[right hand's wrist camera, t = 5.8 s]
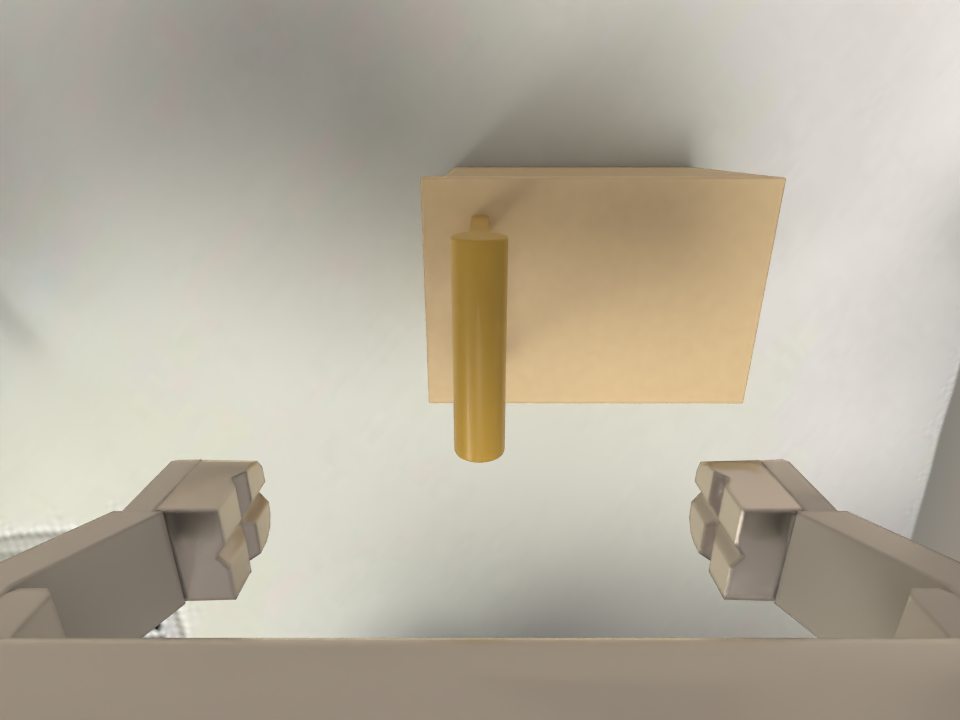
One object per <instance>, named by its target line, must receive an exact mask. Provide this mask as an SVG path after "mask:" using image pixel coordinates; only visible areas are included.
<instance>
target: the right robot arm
mask: <svg viewBox="0 0 960 720" xmlns="http://www.w3.org/2000/svg"><path fill="white" fill-rule="evenodd" d="M264 483H265V478H264V473H263V468H262V466H261V464H260V463H259V462H258V461H234V460H176V461H171V462H170V463H169V464H168V465H167V466H166V467H165V468H164V469H163V470H162V471H161V472H160V473H159V474H158V475H157V476H156V477H155V478H154V479H153V480H152V481H151V482H150V484H149V485H148V486H147V487H146V488H145V489H144V490H143V491H142V492H141V493H140V494H139V495H138V496H137V497H136V498H135V499H134V500H133V501H132V502H131V503H130V504H129V505H128V506H127V507H126V508H125V509H124V510H123V511H113V512H110V513H108V514H106V515H104V516H102V517H99V518H97V519H95V520H93V521H90V522H88V523H86V524H84V525H82V526H79V527H77V528H75V529H73V530H70V531H68V532H66V533H64V534H62V535H59V536H57V537H55V538H53V539H50V540H48V541H46V542H44V543H42V544H39V545H37V546H35V547H33V548H31V549H28V550H26V551H24V552H22V553H19V554H17V555H15V556H13V557H11V558H8V559H6V560H4V561H2V562H0V720H960V562H958V561H956V560H954V559H951V558H949V557H947V556H945V555H943V554H940V553H938V552H936V551H934V550H931V549H929V548H927V547H925V546H923V545H920V544H918V543H916V542H914V541H912V540H909V539H907V538H905V537H903V536H900V535H898V534H896V533H894V532H892V531H889V530H887V529H885V528H883V527H881V526H878V525H876V524H874V523H872V522H870V521H867V520H865V519H863V518H861V517H858V516H856V515H854V514H852V513H850V512H847V511H837V510H836V509H835V508H834V507H833V506H832V505H831V504H830V503H829V502H828V501H827V500H826V499H825V498H824V497H823V496H822V495H821V494H820V493H819V492H818V491H817V490H816V488H815V487H814V486H813V485H812V484H811V483H810V482H809V481H808V480H807V479H806V478H805V477H804V476H803V475H802V474H801V473H800V472H799V471H798V470H797V469H796V468H795V467H794V466H793V465H792V464H791V463H790V462H788V461H785V460H783V459H778V460H752V461H712V462H700V464H699V466H698V469H697V472H696V478H695V483H696V484H697V486H698V487H699V489H700V491H701V493H700V494H699V495H698V496H697V497H696V498H695V499H694V500H693V501H692V502H691V509H690V517H689V518H690V530H691V535H692V538H693V541H694V544H695V546H696V548H697V550H698V552H699V553H700V554H701V555H703V556H704V557H706V558H707V559H709V560H710V567H709V573H710V574H711V576H712V578H713V580H714V582H715V584H716V585H717V587H718V589H719V591H720V593H721V595H722V596H723V598H724V600H759V601H775V604H776V605H777V606H779V607H780V608H781V609H782V610H784V611H785V612H786V613H787V614H789V615H790V616H791V617H793V618H794V619H795V620H796V621H798V622H799V623H800V624H801V625H803V626H804V627H805V628H806V629H808V630H809V631H810V632H811V633H813V634H814V635H815V636H817V637H818V638H142V637H144V636H145V635H146V634H147V633H149V632H150V631H151V630H153V629H154V628H155V627H156V626H158V625H159V624H160V623H161V622H163V621H164V620H165V619H166V618H168V617H169V616H170V615H172V614H173V613H174V612H175V611H177V610H178V609H179V608H180V607H182V606H183V605H184V604H185V601H200V600H235V599H236V598H237V597H238V595H239V593H240V591H241V589H242V587H243V585H244V584H245V582H246V580H247V578H248V576H249V574H250V573H251V566H250V560H251V559H253V558H254V557H256V556H257V555H259V554H260V553H261V552H262V550H263V548H264V546H265V544H266V542H267V538H268V534H269V529H270V508H269V502H268V501H267V500H266V499H265V498H264V497H263V496H262V495H261V494H260V493H259V491H260V489H261V487H262V486H263V484H264Z"/></svg>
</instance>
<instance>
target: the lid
mask: <svg viewBox="0 0 960 720" xmlns="http://www.w3.org/2000/svg"><path fill="white" fill-rule="evenodd" d="M785 181H786V178H783V177H774V176H424V177H422V178H421V202H422V229H423V256H424V282H425V309H426V336H427V362H428V389H429V403H454V448H455V452H456V454H457V455H458V456H459V457H460V458H462V459H464V460H467V461H470V462H489V461H492V460H495V459H497V458H499V457H500V456H501V455H502V454H503V452H504V448H505V403H743V400H744V395H745V390H746V384H747V379H748V374H749V369H750V364H751V358H752V353H753V348H754V343H755V337H756V332H757V327H758V322H759V317H760V311H761V306H762V301H763V296H764V291H765V285H766V280H767V275H768V270H769V264H770V259H771V254H772V249H773V244H774V238H775V233H776V228H777V223H778V218H779V212H780V207H781V202H782V197H783V191H784V186H785Z"/></svg>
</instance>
